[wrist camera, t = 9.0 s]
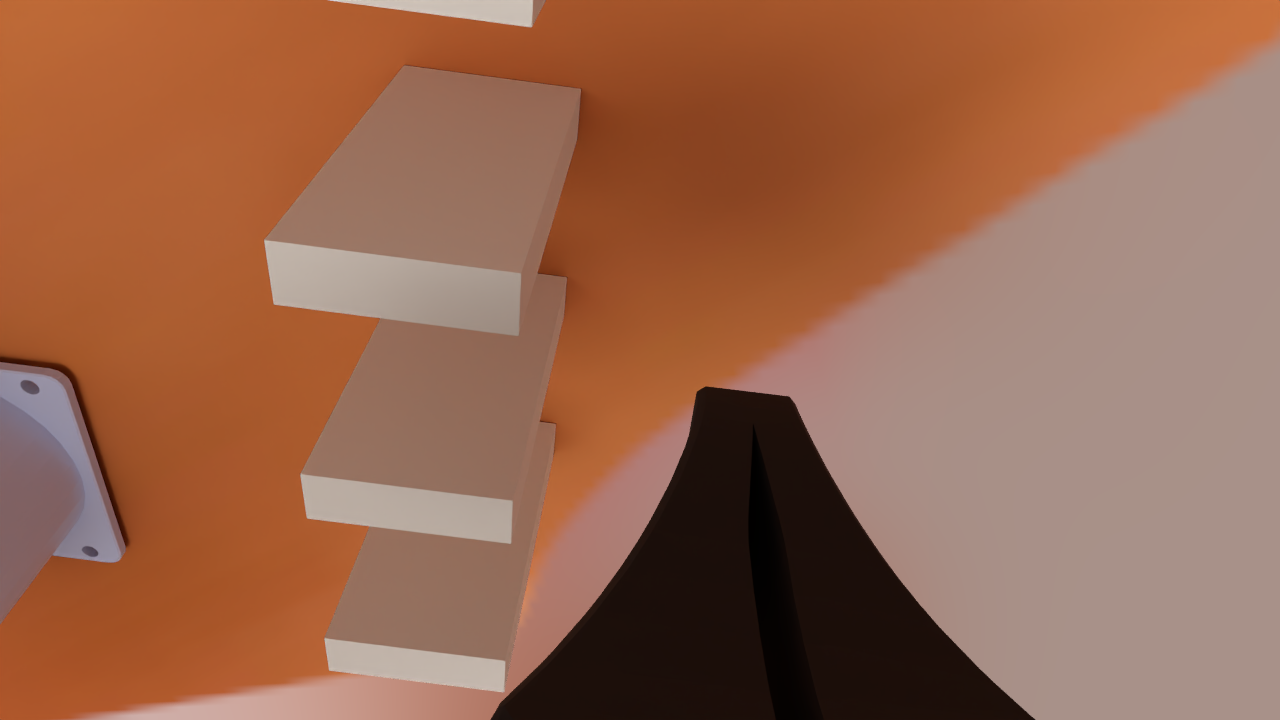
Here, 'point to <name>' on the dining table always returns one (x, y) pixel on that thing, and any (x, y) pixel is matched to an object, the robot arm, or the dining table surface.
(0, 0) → the dining table surface
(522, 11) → the domino
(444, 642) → the domino
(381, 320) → the domino
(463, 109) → the domino
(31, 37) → the dining table surface
